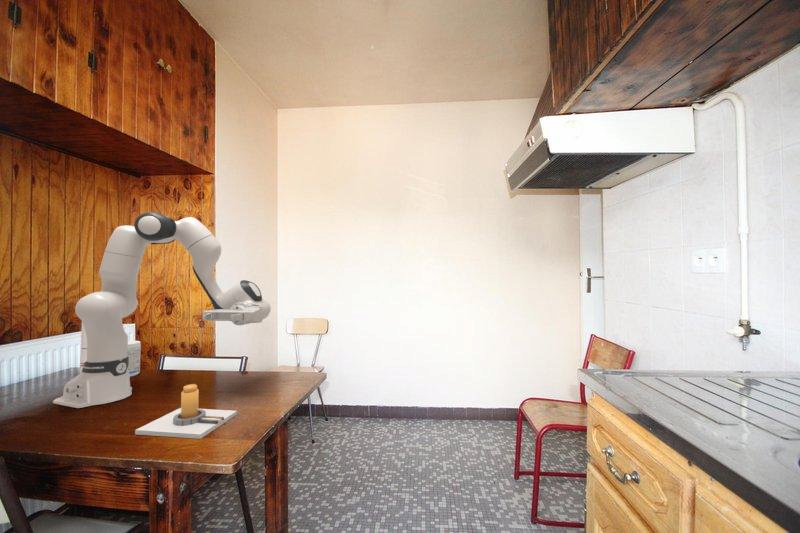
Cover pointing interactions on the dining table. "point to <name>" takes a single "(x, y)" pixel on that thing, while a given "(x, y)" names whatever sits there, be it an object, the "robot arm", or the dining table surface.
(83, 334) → the cylindrical container
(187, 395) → the tan capped bottle
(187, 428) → the plate
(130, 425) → the dining table surface
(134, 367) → the supplement tub
